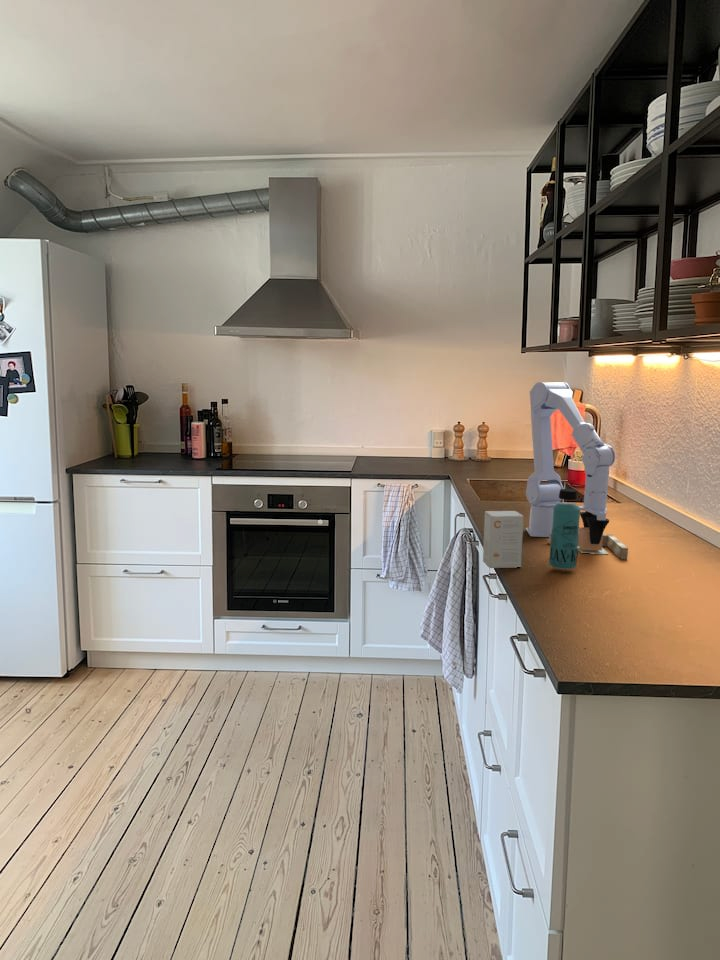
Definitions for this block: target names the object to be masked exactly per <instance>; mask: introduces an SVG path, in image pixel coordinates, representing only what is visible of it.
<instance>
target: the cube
mask: <svg viewBox="0 0 720 960" xmlns="http://www.w3.org/2000/svg"><path fill="white" fill-rule="evenodd" d="M579 527H580V528H579V529H580V530H579V537H578V540H579V541H578V542H579V543H578V546H579V547H580V548H581V549H582V550H601V551H602V548H603V546H602V540H603V534H604V533H603V534H602V537H601V541H600V543H599V544H591V542H590V531H589V528H586V527H584V526H579Z"/></svg>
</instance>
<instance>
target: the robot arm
mask: <svg viewBox="0 0 720 960" xmlns="http://www.w3.org/2000/svg"><path fill="white" fill-rule="evenodd" d="M573 394H574V392H573V390H572V389H571V387H570V385H569V384H568V383H567V382H565V381H561V382H543V381H537V382H536V383H534V385H533V386H532V388H531V389H530V391H529V400H530V401H529V403H530V422H531V436H532V438H531V439H532V453H533V467H534V468H533V469H534V470H533V471H534V472H533V473H532V474H530V476H529V477H527V480H526V481H527V485H526V489H525V496H526V500H527V501H528V502H529V503H528V504H529V505H530V510H529V524H528V527H526V528H525V531H527V534H528V535H529V536H530V537H532V538H533V537H534V538H549V532H552V522H553V507H554V506H555V505H556V504H558V503H560V502H562V500H563V499H560V498H559V493H560V490H561V489H565V488H564V486H563V484H562V478H561V476H560V475H559V474H558V473H557V472H556V471H555V467H554V451H553V438H552V437H553V436H552V421H551V418H552V417H551V416H552V415H553V414H554V413H555V412H556V411H557V410H559V412H560V413H561V414H562V415H561V416H563V417H564V419H565V420H566V421H567V423H568V424H569V425H570V426H571V428H572V433H571V436H572V438H573V439H574V441H575V443H576V444H577V446H578V447H579V449H580V451H581V453H582V454H583V455H581V460H582V464H583V467H584V470H583V471H584V474H585V482H584V495H583V496H584V497H583V505H582V506H578V507H579V508H580V518H581V520H582V525H583V527H586V528H589V531H590V542H591V544H599V543H600V541H601V537H602V534H604V531H605V529H606V528H607V526H608V524H609V522H610V519H609V518H606V517H607V511H608V510H607V509H608V508H607V503H608V502H607V501H608V500H607V498H608V489H609V488H608V487H609V477H610V476H609V475H610V467H611V466H613V464H614V463H615V459H616V454H615V451H614V448H613V447H612V445H609V444H606V443H605V442H604V441H603V440H602V439H601V438H600V436H599V434H598V433H597V431H596V430H595V426H594V425H593V424H592V423H589V422H585V421H584V418H583V417H582V414H581V413H580V411H579V409H578V407H577V405H576V403H575V402H574V399H573Z"/></svg>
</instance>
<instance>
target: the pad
mask: <svg viewBox="0 0 720 960" xmlns="http://www.w3.org/2000/svg"><path fill="white" fill-rule="evenodd" d="M577 549H578V552H579V551H580V552H581V553H590V554H589V555H606V554H609V553H608V552H607V551H606V550H605V548H604V547H602V551H601V550H582V549H581V548H580V547H579V546H578V547H577ZM580 552H579V553H580ZM581 553H580V554H581ZM592 553H594V554H592Z"/></svg>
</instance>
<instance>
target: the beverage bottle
mask: <svg viewBox="0 0 720 960" xmlns="http://www.w3.org/2000/svg"><path fill="white" fill-rule="evenodd" d="M577 495H578V493H577V490H575V489H571V488H564V489H561V490H560V493H559V498H560V499H562V500H569V501H576V500H577V499H578V496H577ZM580 512H581V510H580V508H579V506H578V504H577V503H573V502H566V501H565V502H564V501H563V502H562V501H560V502H559V503H558V504H556V505H555V506H554V507H553V522H552V533H551V540H550V541H551V544H549V545H550V546H549V557H548V558H549V559H548V561H549V562H548V563H549V566H550V567H552V568H555V569H561V570H571V569H575V567H576V565H577V560H578V552H579V550H578V549H577V547H578V543H579V542H578V541H579V540H578V534H579V530H580V529H579V528H580V527H581V526H580V518H581V516H580Z"/></svg>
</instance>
